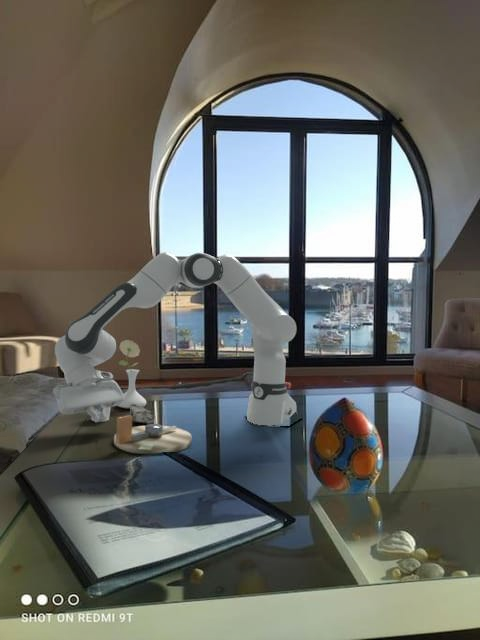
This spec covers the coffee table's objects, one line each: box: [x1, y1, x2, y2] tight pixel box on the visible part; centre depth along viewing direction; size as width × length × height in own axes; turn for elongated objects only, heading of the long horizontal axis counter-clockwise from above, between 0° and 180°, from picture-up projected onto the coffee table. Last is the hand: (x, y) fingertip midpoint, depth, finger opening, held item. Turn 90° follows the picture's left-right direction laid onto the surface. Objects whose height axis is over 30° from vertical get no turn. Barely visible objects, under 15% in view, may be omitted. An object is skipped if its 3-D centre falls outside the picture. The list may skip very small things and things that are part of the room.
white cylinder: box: [90, 407, 112, 423], centre depth 150 cm, size 7×7×7 cm
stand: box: [113, 425, 193, 455], centre depth 130 cm, size 22×22×2 cm
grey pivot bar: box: [115, 414, 178, 444], centre depth 128 cm, size 21×5×7 cm, turn 141°
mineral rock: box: [129, 404, 155, 424], centre depth 151 cm, size 15×8×4 cm, turn 17°
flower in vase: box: [117, 339, 147, 409], centre depth 168 cm, size 13×11×25 cm
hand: (101, 420), depth 131 cm, fingers closed
